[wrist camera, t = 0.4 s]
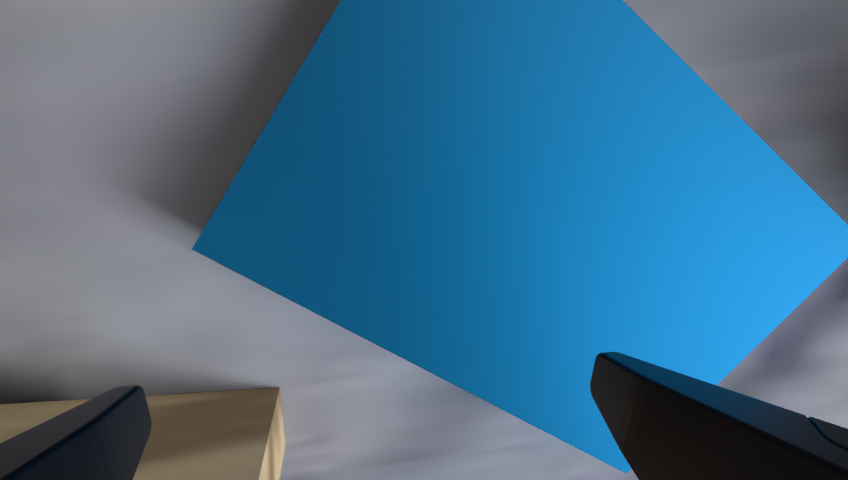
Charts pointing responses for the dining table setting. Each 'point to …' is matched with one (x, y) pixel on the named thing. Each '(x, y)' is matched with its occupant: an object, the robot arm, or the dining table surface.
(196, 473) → the oak plank
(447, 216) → the book
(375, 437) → the dining table surface
